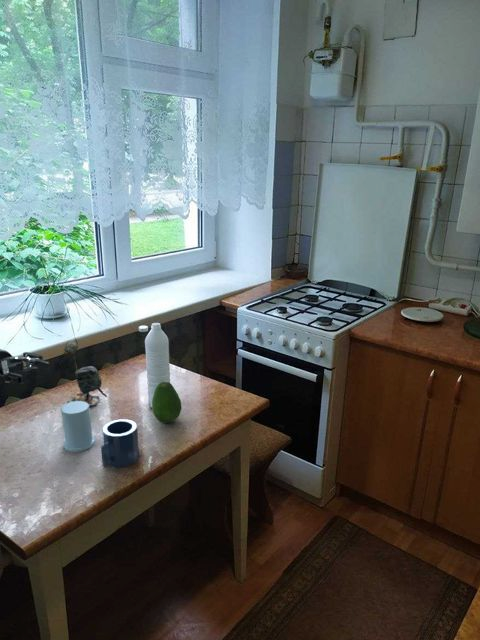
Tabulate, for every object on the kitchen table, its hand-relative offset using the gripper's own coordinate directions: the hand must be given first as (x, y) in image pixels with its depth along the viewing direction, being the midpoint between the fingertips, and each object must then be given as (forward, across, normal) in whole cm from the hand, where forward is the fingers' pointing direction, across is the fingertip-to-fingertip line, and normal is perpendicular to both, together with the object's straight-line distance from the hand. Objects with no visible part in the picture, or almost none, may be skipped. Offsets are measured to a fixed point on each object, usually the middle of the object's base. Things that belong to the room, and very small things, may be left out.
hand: (36, 373), depth 122 cm
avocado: (+25, +18, +17) cm, 36 cm away
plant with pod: (-2, +18, +18) cm, 25 cm away
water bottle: (+17, +25, +17) cm, 35 cm away
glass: (+11, 0, +17) cm, 20 cm away
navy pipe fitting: (+25, -2, +17) cm, 30 cm away
